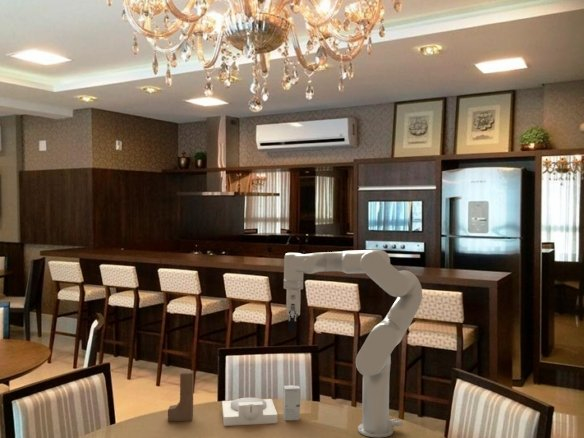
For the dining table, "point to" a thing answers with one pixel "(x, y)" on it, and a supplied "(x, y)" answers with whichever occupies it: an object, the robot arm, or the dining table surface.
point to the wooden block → (183, 399)
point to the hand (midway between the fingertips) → (292, 328)
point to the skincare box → (291, 403)
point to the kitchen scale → (249, 411)
